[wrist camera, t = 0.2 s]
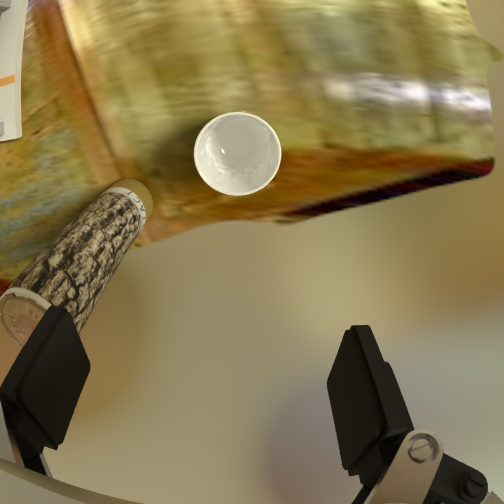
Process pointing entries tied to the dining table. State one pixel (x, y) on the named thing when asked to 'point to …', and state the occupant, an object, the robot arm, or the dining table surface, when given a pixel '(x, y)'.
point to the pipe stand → (11, 66)
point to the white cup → (237, 153)
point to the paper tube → (78, 260)
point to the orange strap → (7, 80)
